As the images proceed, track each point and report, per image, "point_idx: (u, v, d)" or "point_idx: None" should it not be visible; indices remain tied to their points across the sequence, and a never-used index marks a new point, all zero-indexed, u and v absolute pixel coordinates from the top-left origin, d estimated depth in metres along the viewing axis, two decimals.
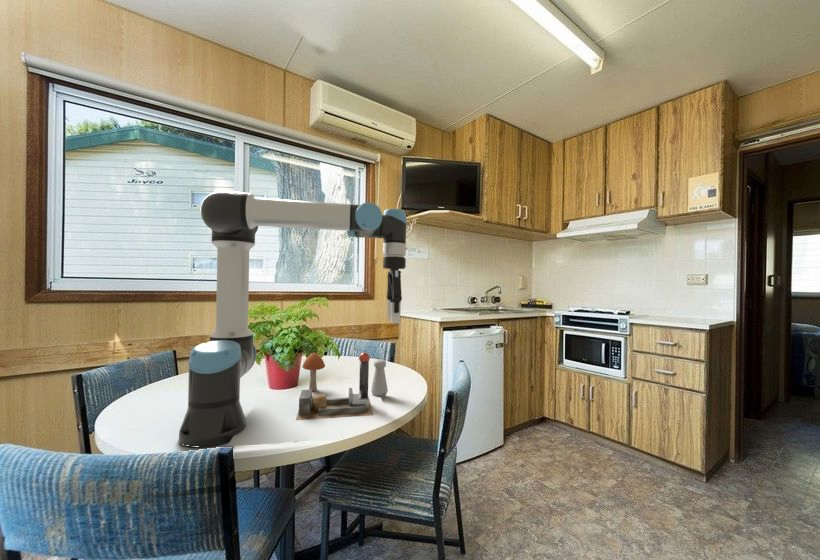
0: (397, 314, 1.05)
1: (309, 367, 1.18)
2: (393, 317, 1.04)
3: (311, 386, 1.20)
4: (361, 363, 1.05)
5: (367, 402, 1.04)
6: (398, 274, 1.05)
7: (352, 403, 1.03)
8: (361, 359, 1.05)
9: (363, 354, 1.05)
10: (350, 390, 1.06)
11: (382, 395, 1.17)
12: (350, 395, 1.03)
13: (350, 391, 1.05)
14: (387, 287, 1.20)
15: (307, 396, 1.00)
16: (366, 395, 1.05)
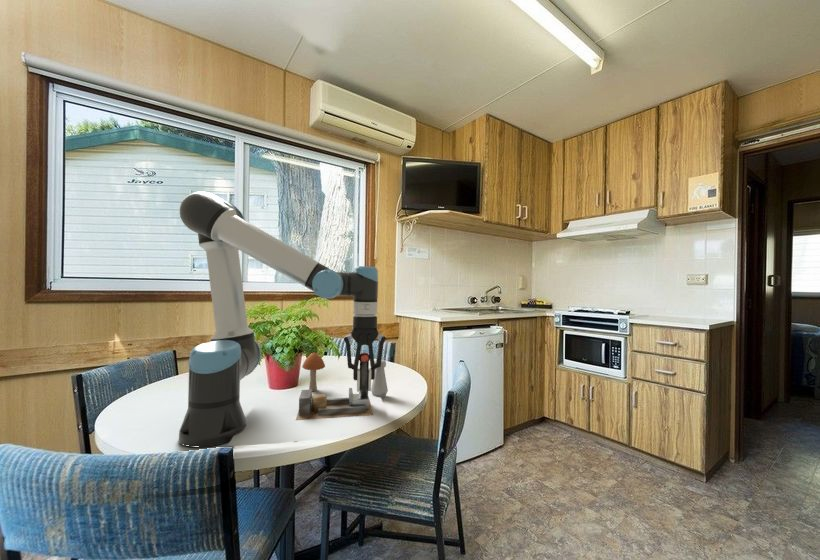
0: (357, 381, 1.05)
1: (309, 367, 1.18)
2: None
3: (311, 386, 1.20)
4: (361, 363, 1.05)
5: (367, 402, 1.04)
6: None
7: (352, 403, 1.03)
8: (361, 359, 1.05)
9: (363, 354, 1.05)
10: (350, 390, 1.06)
11: (382, 395, 1.17)
12: (350, 395, 1.03)
13: (350, 391, 1.05)
14: None
15: (307, 396, 1.00)
16: (366, 395, 1.05)
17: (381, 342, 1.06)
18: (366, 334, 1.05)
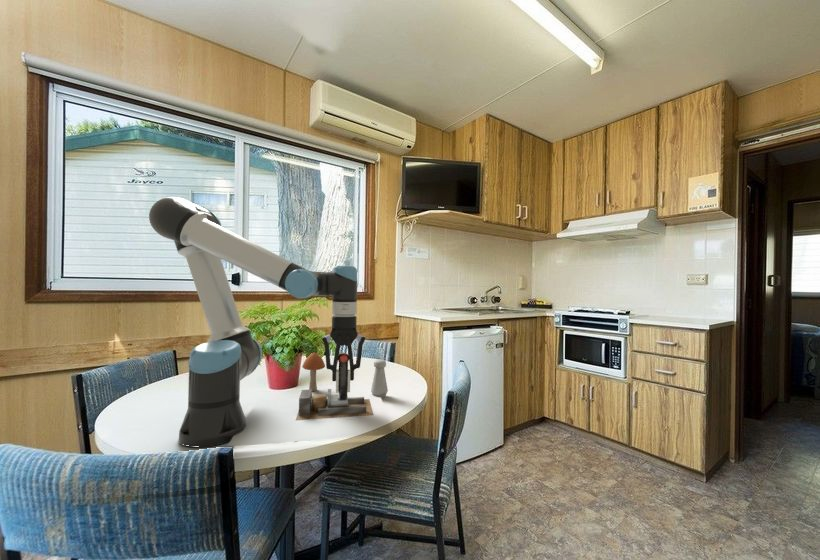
0: None
1: (309, 367, 1.18)
2: None
3: (311, 386, 1.20)
4: (340, 364, 1.04)
5: (346, 403, 1.02)
6: (323, 341, 1.03)
7: (330, 404, 1.01)
8: (340, 360, 1.04)
9: (342, 355, 1.04)
10: (329, 391, 1.04)
11: (382, 395, 1.17)
12: (328, 396, 1.01)
13: (329, 392, 1.03)
14: None
15: (307, 396, 1.00)
16: (345, 396, 1.04)
17: (360, 342, 1.05)
18: (345, 334, 1.04)
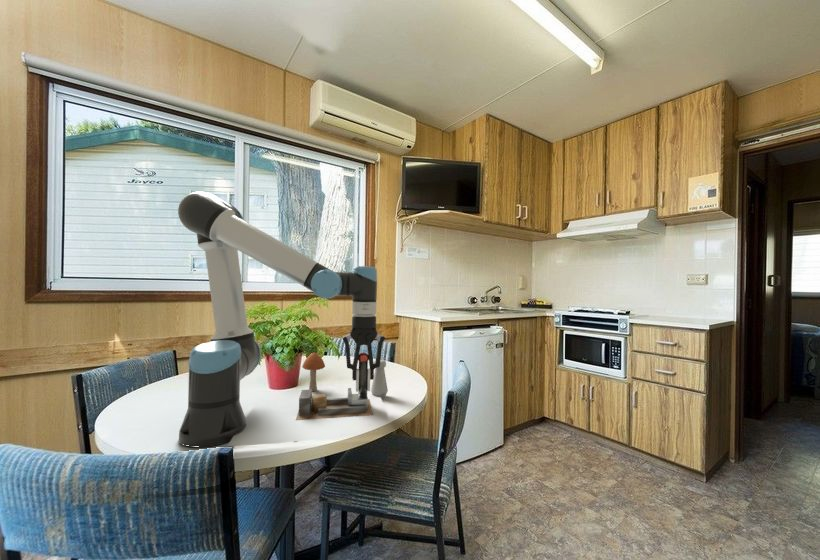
0: (356, 381, 1.05)
1: (309, 367, 1.18)
2: None
3: (311, 386, 1.20)
4: (360, 363, 1.05)
5: (366, 402, 1.04)
6: None
7: (351, 403, 1.03)
8: (360, 359, 1.05)
9: (362, 354, 1.05)
10: (349, 390, 1.06)
11: (382, 395, 1.17)
12: (349, 395, 1.03)
13: (349, 391, 1.05)
14: None
15: (307, 396, 1.00)
16: (365, 395, 1.05)
17: (380, 342, 1.06)
18: (365, 334, 1.05)
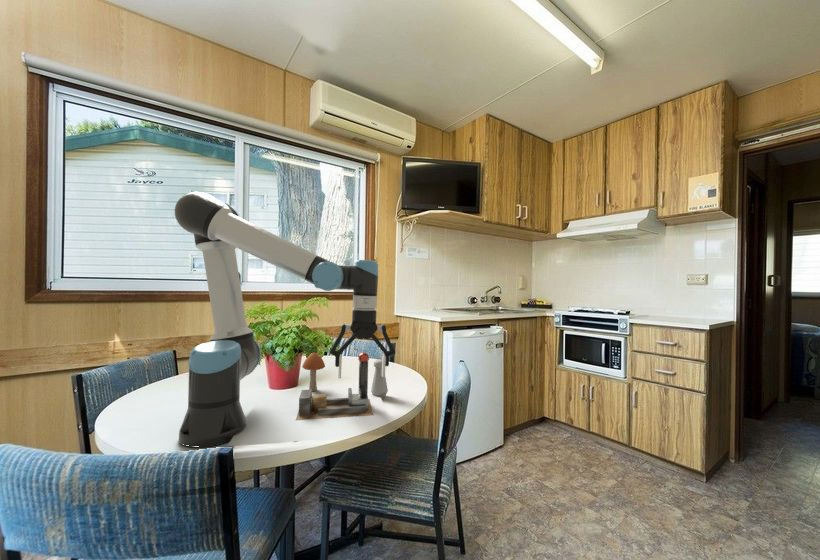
0: None
1: (309, 367, 1.18)
2: None
3: (311, 386, 1.20)
4: (360, 363, 1.05)
5: (366, 402, 1.04)
6: (341, 328, 1.04)
7: (351, 403, 1.03)
8: (360, 359, 1.05)
9: (362, 354, 1.05)
10: (349, 390, 1.06)
11: (382, 395, 1.17)
12: (349, 395, 1.03)
13: (349, 391, 1.05)
14: None
15: (307, 396, 1.00)
16: (365, 395, 1.05)
17: (383, 331, 1.07)
18: (364, 330, 1.05)
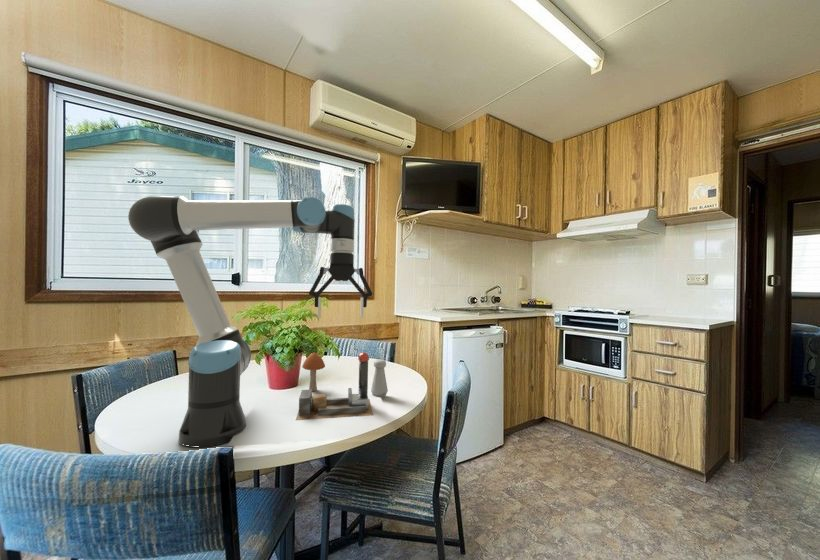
0: (318, 308, 1.09)
1: (309, 367, 1.18)
2: None
3: (311, 386, 1.20)
4: (360, 363, 1.05)
5: (366, 402, 1.04)
6: (320, 270, 1.09)
7: (351, 403, 1.03)
8: (360, 359, 1.05)
9: (362, 354, 1.05)
10: (349, 390, 1.06)
11: (382, 395, 1.17)
12: (349, 395, 1.03)
13: (349, 391, 1.05)
14: None
15: (307, 396, 1.00)
16: (365, 395, 1.05)
17: (361, 274, 1.11)
18: (342, 272, 1.10)
